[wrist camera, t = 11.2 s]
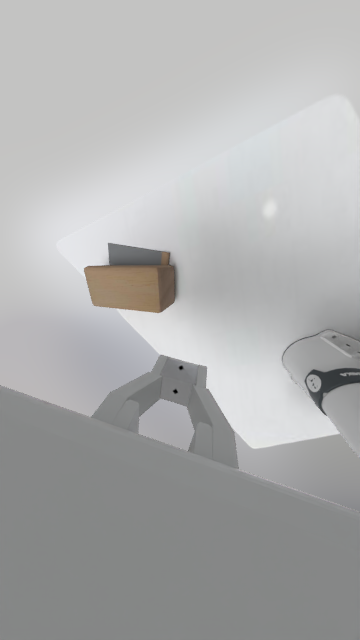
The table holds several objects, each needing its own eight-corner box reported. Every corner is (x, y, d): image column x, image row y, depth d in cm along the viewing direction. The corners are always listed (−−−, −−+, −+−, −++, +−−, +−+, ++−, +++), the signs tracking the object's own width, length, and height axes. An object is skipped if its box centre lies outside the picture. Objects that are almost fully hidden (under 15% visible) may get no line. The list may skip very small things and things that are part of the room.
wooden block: (175, 265, 36) (112, 265, 42) (157, 266, 27) (80, 266, 33) (175, 302, 40) (118, 298, 45) (160, 314, 31) (91, 307, 37)
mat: (169, 252, 37) (167, 252, 35) (165, 299, 43) (163, 301, 41) (109, 243, 40) (104, 242, 38) (112, 288, 45) (107, 289, 43)
